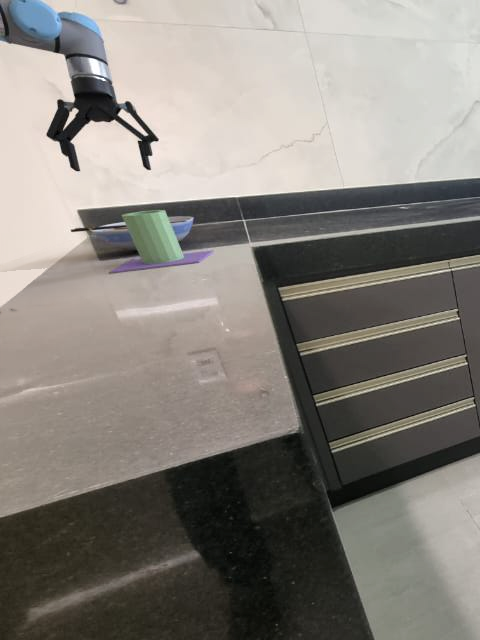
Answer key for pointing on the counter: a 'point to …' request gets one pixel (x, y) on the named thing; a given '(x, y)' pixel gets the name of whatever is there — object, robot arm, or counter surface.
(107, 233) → the ramen bowl
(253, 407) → the counter surface
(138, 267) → the towel
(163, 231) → the green faceted cylinder
